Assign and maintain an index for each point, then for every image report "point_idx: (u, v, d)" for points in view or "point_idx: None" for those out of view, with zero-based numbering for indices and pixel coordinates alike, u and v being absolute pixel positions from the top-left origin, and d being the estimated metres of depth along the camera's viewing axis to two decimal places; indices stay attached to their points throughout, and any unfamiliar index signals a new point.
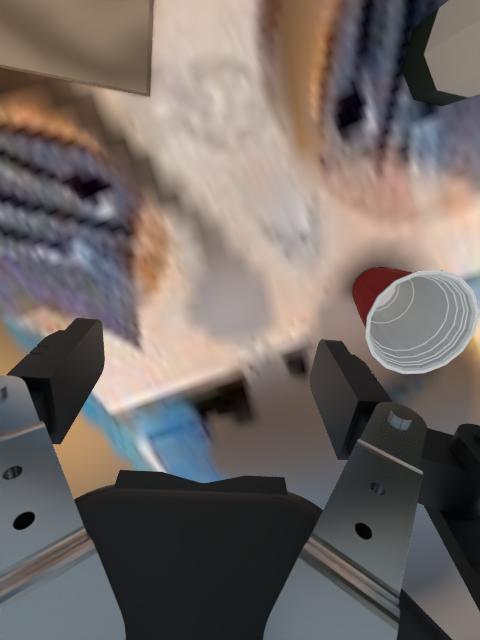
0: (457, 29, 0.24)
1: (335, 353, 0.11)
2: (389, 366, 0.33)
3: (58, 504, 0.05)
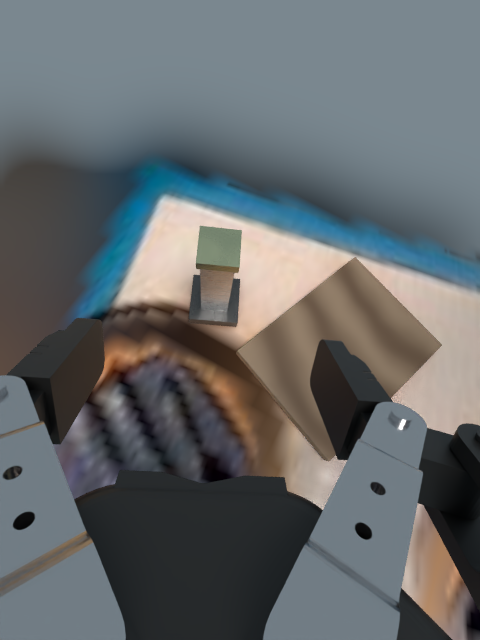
0: None
1: (335, 353, 0.11)
2: None
3: (58, 504, 0.05)
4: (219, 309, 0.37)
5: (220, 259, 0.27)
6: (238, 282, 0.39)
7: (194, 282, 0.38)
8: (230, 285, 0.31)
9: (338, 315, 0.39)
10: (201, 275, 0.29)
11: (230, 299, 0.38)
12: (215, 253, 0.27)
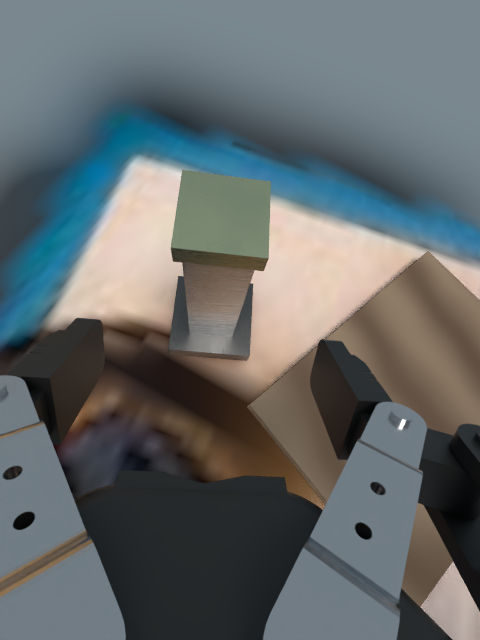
0: None
1: (335, 353, 0.11)
2: None
3: (59, 505, 0.05)
4: (220, 333, 0.22)
5: (226, 240, 0.12)
6: (250, 289, 0.24)
7: (179, 288, 0.24)
8: (242, 296, 0.16)
9: (410, 343, 0.24)
10: (186, 276, 0.14)
11: None
12: (215, 227, 0.12)
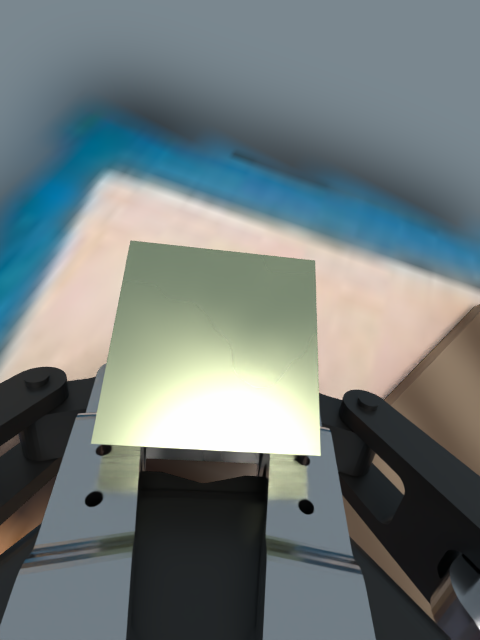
0: None
1: None
2: None
3: (123, 496, 0.05)
4: None
5: (224, 414, 0.05)
6: None
7: None
8: None
9: None
10: None
11: None
12: (198, 379, 0.05)
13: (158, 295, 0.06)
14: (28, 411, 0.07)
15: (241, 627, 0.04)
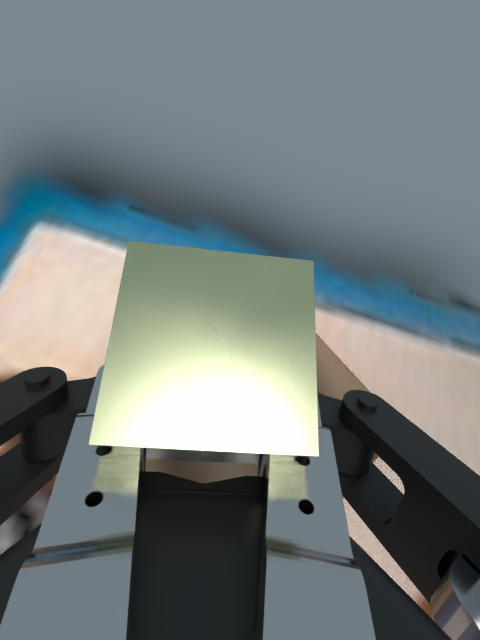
0: None
1: None
2: None
3: (123, 496, 0.05)
4: None
5: (222, 414, 0.05)
6: None
7: None
8: None
9: None
10: None
11: None
12: (196, 380, 0.05)
13: (156, 296, 0.06)
14: (28, 411, 0.07)
15: (241, 627, 0.04)
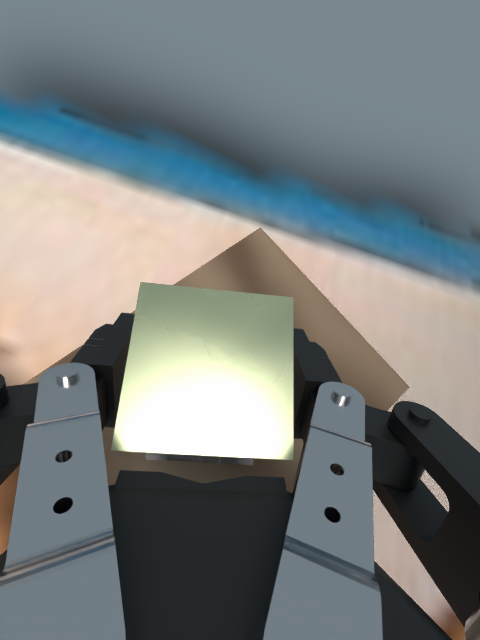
0: None
1: (294, 339, 0.11)
2: None
3: (94, 497, 0.05)
4: None
5: (216, 426, 0.07)
6: None
7: None
8: None
9: None
10: None
11: None
12: (196, 398, 0.07)
13: (163, 328, 0.07)
14: None
15: (251, 614, 0.04)
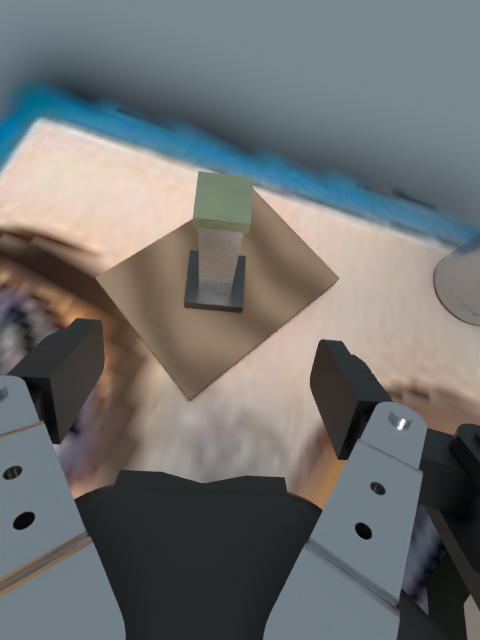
0: None
1: (335, 353, 0.11)
2: None
3: (58, 504, 0.05)
4: (221, 291, 0.31)
5: (226, 213, 0.20)
6: (244, 259, 0.32)
7: (191, 259, 0.32)
8: (236, 255, 0.24)
9: None
10: (200, 239, 0.23)
11: (234, 279, 0.32)
12: (219, 205, 0.20)
13: (207, 185, 0.21)
14: None
15: (265, 603, 0.04)
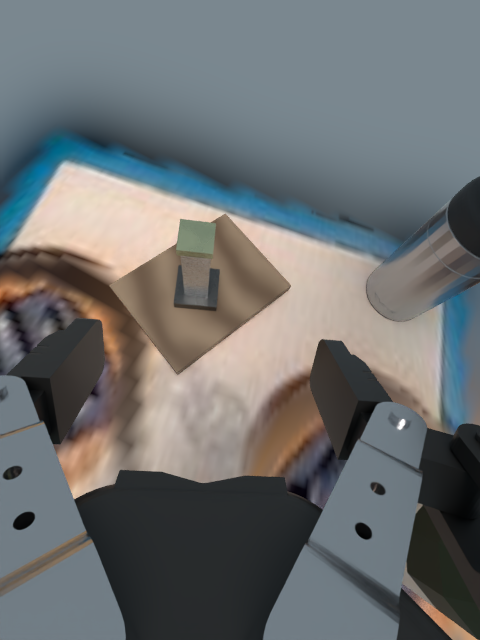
0: None
1: (335, 353, 0.11)
2: None
3: (59, 505, 0.05)
4: (200, 295, 0.42)
5: (197, 247, 0.32)
6: (218, 272, 0.44)
7: (179, 271, 0.43)
8: (207, 271, 0.36)
9: None
10: (182, 261, 0.34)
11: (211, 286, 0.43)
12: (192, 242, 0.32)
13: (185, 228, 0.32)
14: None
15: (265, 603, 0.04)
